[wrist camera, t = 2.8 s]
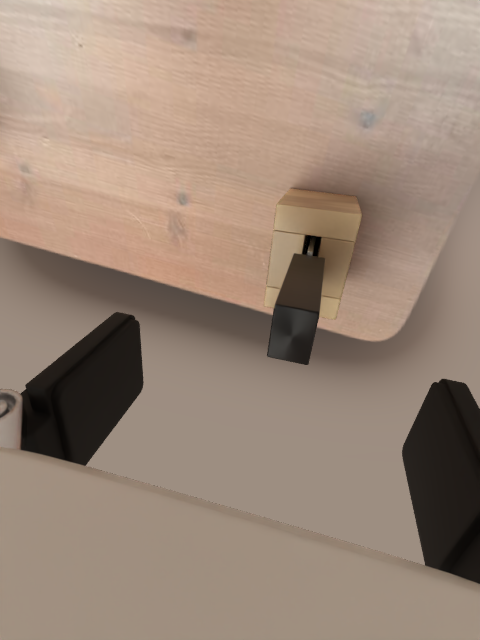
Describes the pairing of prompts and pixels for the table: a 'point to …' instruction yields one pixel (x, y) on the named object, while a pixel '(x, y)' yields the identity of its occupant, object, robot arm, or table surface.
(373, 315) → the table surface
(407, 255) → the table surface
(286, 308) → the knife
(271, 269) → the knife block
